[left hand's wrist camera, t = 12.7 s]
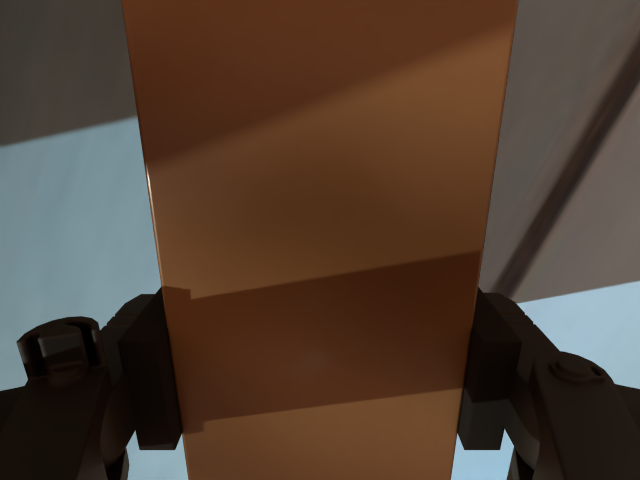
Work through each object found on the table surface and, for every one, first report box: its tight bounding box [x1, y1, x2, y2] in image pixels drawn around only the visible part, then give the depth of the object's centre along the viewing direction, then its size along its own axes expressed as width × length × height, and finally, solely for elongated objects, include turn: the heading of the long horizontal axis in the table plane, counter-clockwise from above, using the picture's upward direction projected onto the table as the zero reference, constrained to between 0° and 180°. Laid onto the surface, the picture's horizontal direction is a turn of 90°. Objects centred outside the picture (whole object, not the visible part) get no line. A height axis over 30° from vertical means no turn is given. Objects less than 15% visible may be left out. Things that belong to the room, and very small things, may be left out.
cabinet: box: [121, 0, 518, 480], centre depth 12 cm, size 18×6×10 cm, turn 0°
